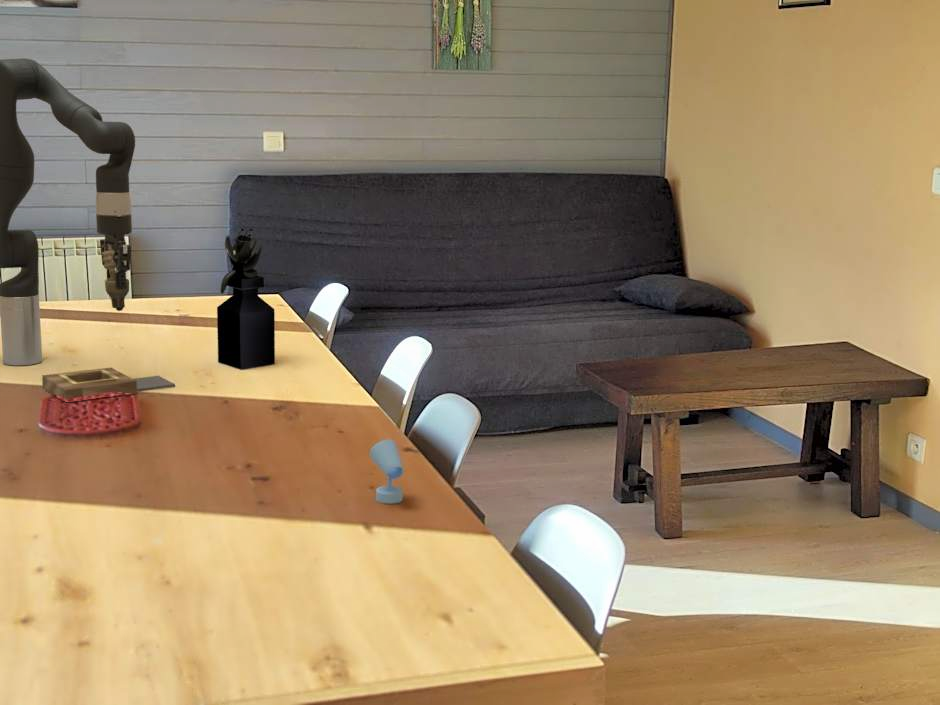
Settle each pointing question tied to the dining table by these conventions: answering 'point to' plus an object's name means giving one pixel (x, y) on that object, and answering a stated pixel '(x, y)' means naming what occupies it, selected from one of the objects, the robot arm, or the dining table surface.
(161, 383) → the mat
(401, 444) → the dining table surface
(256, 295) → the vase
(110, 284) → the tan ridged rounded piece
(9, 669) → the dining table surface
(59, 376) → the socket block
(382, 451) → the spotlight
